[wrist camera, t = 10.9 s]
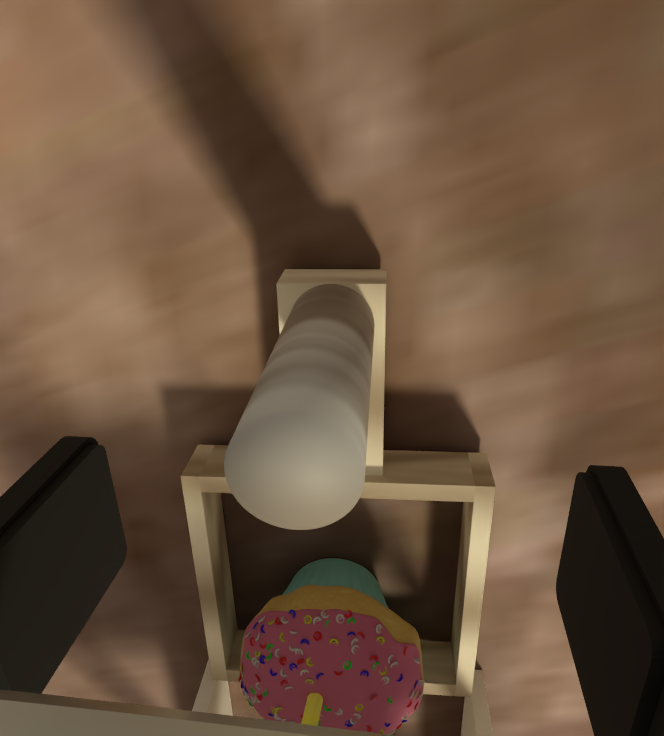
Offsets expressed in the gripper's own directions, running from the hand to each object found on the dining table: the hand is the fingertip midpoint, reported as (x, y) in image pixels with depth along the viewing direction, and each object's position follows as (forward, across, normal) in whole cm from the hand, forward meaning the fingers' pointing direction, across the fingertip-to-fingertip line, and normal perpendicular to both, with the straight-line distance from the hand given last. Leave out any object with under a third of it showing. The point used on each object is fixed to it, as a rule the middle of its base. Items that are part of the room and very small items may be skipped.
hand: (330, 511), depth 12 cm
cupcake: (+14, +2, +16) cm, 21 cm away
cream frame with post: (+13, +2, +9) cm, 16 cm away
